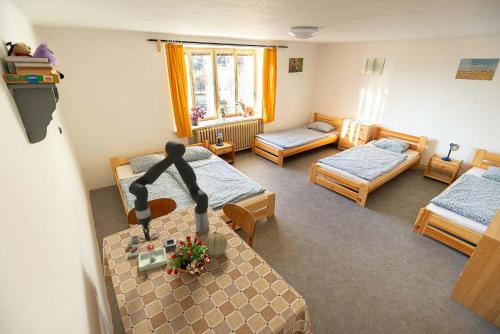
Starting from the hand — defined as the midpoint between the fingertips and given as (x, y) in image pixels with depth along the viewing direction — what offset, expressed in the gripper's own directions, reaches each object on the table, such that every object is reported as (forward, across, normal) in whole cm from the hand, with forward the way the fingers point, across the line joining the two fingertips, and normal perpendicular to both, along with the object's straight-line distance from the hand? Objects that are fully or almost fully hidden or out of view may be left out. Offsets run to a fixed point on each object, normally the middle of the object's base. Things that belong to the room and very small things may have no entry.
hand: (148, 236), depth 147 cm
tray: (+20, 0, 0) cm, 20 cm away
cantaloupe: (+21, -7, -40) cm, 46 cm away
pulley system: (+21, +20, +8) cm, 30 cm away
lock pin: (+20, 0, 0) cm, 20 cm away
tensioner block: (+21, +10, -12) cm, 26 cm away
